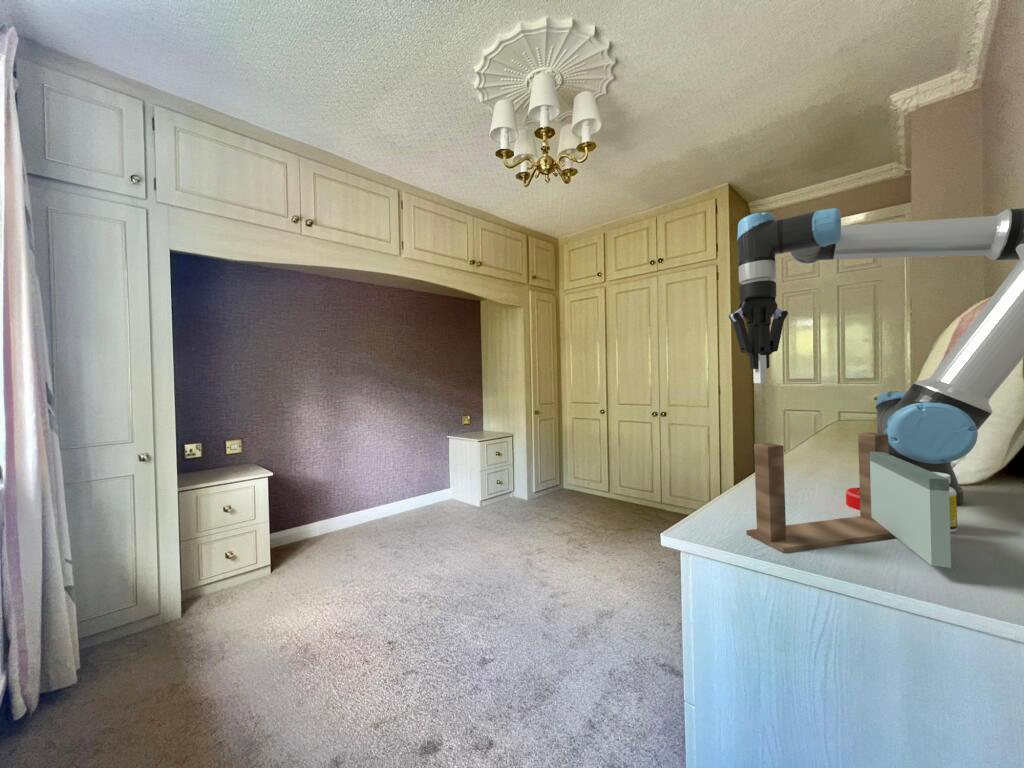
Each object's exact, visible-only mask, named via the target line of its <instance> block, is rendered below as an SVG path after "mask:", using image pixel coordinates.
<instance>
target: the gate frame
mask: <svg viewBox="0 0 1024 768" xmlns="http://www.w3.org/2000/svg"><path fill="white" fill-rule="evenodd" d="M857 438H858V439H857V442H858V446H857V447H858V473H859V474H858V477H859V478H858V479H859V482H858V483H859V488H860V510H859V511H860V512H859V513H860V515H859V516H851V517H842V518H841V517H840V518H836V519H835V518H834V519H826V520H818V521H811V522H809V521H808V522H801V523H793V524H787V523H786V519H787V518H786V492H785V491H786V489H785V486H786V485H785V484H786V483H785V460H784V458H785V456H784V445H782V444H776V443H772V442H764V443H763V442H762V443H754V444H753V448H754V449H753V450H754V453H753V454H754V480H755V481H754V483H755V484H754V485H755V510H756V513H755V515H756V528H755V529H754V528H752V529H747V530H745V532H746V536H748V535H749V536H748V537H750V536H751V538H752V537H753V538H752V539H754V540H757V541H759V542H761V543H763V544H765V545H767V546H769V547H771V548H773V549H775V550H777V551H779V552H780V553H790V552H799V551H806V550H813V549H814V550H815V549H821V548H827V547H835V546H843V545H850V544H856V543H863V542H873V541H879V540H885V539H886V540H887V539H893V538H896V537H895V536H894V535H893V534H892V533H890V532H889V531H888V530H887V529H885V528H884V527H883V526H882V525H880V524H879V523H878V522H877V521H875V520H874V519H873V518H872V516H871V479H870V452H885V453H887V454H889V448H888V434H880V433H877V432H861V433H860V432H859V433H858V435H857Z"/></svg>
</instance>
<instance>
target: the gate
mask: <svg viewBox="0 0 1024 768" xmlns="http://www.w3.org/2000/svg"><path fill="white" fill-rule="evenodd" d="M870 479H871V516H872V518H873V519H874V520H875V521H877V522H878V523H879V524H880V525H882V526H883V527H884V528H885V529H887V530H888V531H889V532H890V533H892V534H893V535H894V536H895V537H894V538H897V539H898V541H900V542H902V543H903V544H904V545H905V546H907V547H908V548H909V549H910V550H911V551H913V552H914V553H915V554H917V555H918V556H919V557H920V558H922V559H923V560H924V561H925V562H926V563H928V564H929V565H930V566H932V567H934V566H935V567H942V568H952V559H951V558H952V551H951V550H952V549H951V548H952V547H951V533H950V503H949V479H947V478H945V477H942V476H940V475H937V474H935V473H933V472H930V471H928V470H926V469H923V468H921V467H918V466H916V465H914V464H911V463H909V462H906V461H904V460H902V459H899V458H897V457H894V456H892V455H890V454H887V453H885V452H870Z"/></svg>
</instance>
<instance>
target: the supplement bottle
mask: <svg viewBox="0 0 1024 768" xmlns="http://www.w3.org/2000/svg"><path fill="white" fill-rule="evenodd" d="M933 473H935V474H937V475H940V476H942V477H945V478H947V479H949V484H950V482H951V480H950V475H948V474H945V473H939V472H933ZM949 503H950V534H952V533H955V532H957V531H958V509H957V508H958V504H957V496H956V491H955V490H954V489H953V488H952V487H949Z"/></svg>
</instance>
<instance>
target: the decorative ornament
mask: <svg viewBox="0 0 1024 768" xmlns="http://www.w3.org/2000/svg"><path fill="white" fill-rule="evenodd" d="M845 505H846V506H847V507H849V508H852V509H853V510H857V511H860V487H852V488H851V487H850V488H848V489H846V490H845Z"/></svg>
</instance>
